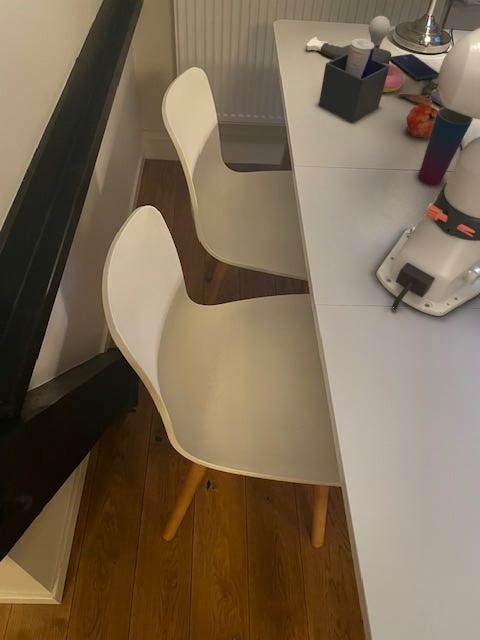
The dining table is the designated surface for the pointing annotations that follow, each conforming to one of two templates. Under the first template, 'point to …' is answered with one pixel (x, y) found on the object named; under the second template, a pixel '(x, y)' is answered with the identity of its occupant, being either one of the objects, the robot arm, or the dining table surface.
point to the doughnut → (393, 79)
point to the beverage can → (359, 57)
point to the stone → (416, 98)
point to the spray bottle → (345, 50)
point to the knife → (430, 87)
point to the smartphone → (414, 66)
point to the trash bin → (352, 89)
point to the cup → (443, 145)
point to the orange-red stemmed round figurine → (421, 120)
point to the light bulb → (379, 30)
